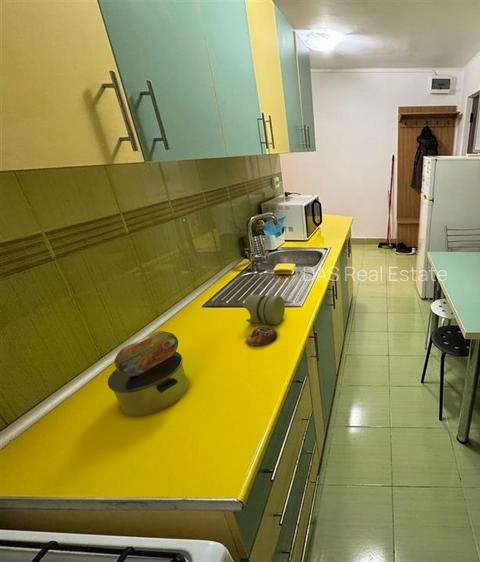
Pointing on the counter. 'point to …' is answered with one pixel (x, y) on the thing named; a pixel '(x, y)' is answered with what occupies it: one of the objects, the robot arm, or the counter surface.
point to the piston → (265, 308)
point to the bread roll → (261, 335)
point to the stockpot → (150, 387)
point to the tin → (146, 353)
